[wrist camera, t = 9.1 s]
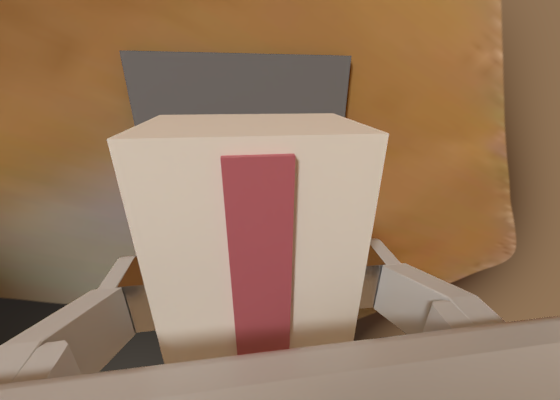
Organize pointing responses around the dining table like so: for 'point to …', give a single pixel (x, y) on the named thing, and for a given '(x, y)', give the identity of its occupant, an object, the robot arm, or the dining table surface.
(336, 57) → the mat
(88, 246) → the dining table surface
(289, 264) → the card deck
